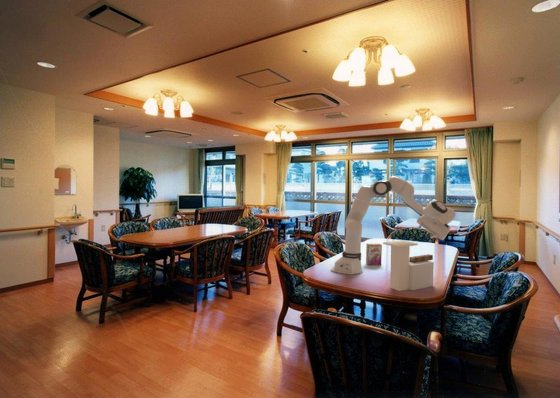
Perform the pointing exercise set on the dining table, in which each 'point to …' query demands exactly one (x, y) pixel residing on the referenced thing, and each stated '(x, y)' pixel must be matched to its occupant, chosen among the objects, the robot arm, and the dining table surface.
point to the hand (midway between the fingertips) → (424, 232)
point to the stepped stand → (408, 268)
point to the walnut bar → (421, 258)
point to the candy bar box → (373, 254)
